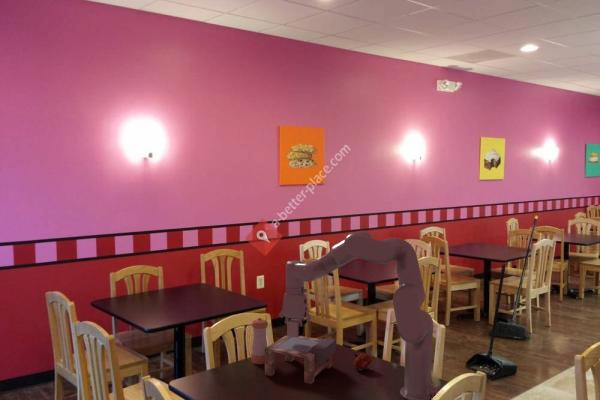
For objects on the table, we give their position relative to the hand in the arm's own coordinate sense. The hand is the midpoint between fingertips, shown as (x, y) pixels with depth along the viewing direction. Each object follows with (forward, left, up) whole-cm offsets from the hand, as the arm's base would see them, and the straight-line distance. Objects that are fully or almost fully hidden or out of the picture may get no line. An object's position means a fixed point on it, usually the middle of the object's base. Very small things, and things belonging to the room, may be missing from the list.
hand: (294, 333), depth 221 cm
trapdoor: (-5, 0, -7) cm, 9 cm away
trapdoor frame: (-2, 0, -15) cm, 16 cm away
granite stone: (0, 0, -1) cm, 1 cm away
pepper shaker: (+18, -2, -16) cm, 24 cm away
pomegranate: (-26, -12, -16) cm, 33 cm away
